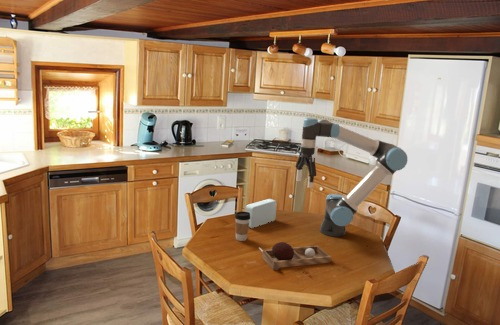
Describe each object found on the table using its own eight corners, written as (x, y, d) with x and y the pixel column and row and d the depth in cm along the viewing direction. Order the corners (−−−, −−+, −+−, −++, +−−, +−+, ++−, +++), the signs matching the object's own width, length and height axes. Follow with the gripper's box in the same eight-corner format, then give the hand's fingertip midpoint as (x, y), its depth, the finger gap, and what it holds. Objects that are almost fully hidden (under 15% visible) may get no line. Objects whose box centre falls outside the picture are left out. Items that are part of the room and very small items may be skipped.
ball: (311, 255, 228) (312, 246, 226) (316, 259, 223) (317, 250, 222) (302, 256, 226) (303, 246, 225) (307, 260, 221) (308, 250, 220)
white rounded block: (267, 217, 282) (269, 197, 279) (275, 220, 278) (276, 200, 275) (243, 226, 265) (244, 204, 262) (250, 228, 261) (252, 207, 258)
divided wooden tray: (316, 252, 234) (317, 245, 233) (330, 264, 221) (330, 256, 220) (262, 257, 223) (262, 250, 222) (273, 270, 210) (273, 262, 209)
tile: (269, 247, 236) (269, 246, 236) (276, 255, 227) (276, 253, 227) (258, 248, 234) (258, 246, 234) (265, 256, 225) (266, 254, 224)
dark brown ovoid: (287, 266, 212) (289, 248, 210) (267, 259, 219) (268, 241, 217) (297, 261, 219) (299, 243, 217) (277, 253, 226) (278, 236, 224)
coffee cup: (246, 242, 240) (248, 216, 237) (231, 240, 241) (233, 214, 238) (250, 237, 248) (252, 211, 245) (235, 235, 250) (237, 209, 246)
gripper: (291, 142, 250) (288, 178, 255) (312, 151, 228) (308, 190, 232) (303, 142, 253) (300, 178, 258) (325, 151, 230) (321, 190, 235)
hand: (304, 184), depth 245 cm, fingers open, 13 cm apart
